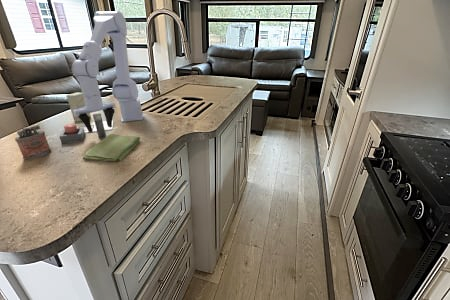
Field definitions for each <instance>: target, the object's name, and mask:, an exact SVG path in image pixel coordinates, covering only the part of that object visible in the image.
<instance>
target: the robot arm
mask: <svg viewBox="0 0 450 300" xmlns="http://www.w3.org/2000/svg"><path fill="white" fill-rule="evenodd" d="M93 23H94V27H93V30H92V35H91V37H90V41H86V42H84V43H83V47H82V50H81V51H80V54H79V56H78V59H76V60H74V61H73V62H72V64H71V69H70V70H71V72H72V74H73V75H74V77H75V78H76V80H77V82H78V83H79V86H80V89H81V93H82V94H83V98H84V101H85V105H86V107H83V108H80V109H76V110H73V113H74V115H75V116H76V117H77V116H78V117H79V118H80V119H81V121H82V122H83V123H84V124H85V126H86V127H87V129H88V131H89V132H90V134H92V133H94V132H93V131H92V127H91V124H90V123H91V118H90V117H89V116H88V115H87V113H90V114H92V113H96V112H99V111H103V113H104V116H105V121H107V125H108V127H112V120H113V117H114V115H115V112H116V111H115V108H116V104H115V102H114V101H110V102H105V103H104V102H103V99H102V94H101V90H100V87H99V83H98V78H97V76H98V75H99V70H100V69H99V68H100V67H99V61H100V58H101V55H102V53H103V50H102V47H101V46H102V44H103V42H104V41H105V38H106V36H108V37H110V38H111V39H112V45H113V46H112V47H113V55H114V64H115V73H116V78H115V79H114V81H112V89H111V93H112V96H113V98H114V99H116V102H118V105H119V111H120V114H121V117H120V119H121V120H120V121H121V123H126V122H133V121H141V120H144V117H143V115H144V113H143V110H142V105H141V100H140V98H138V97H139V90H138V87H137V82H136V81H134V80H133V79H132V78H130V68H129V67H130V66H129V57H128V56H129V55H128V46H127V35H128V31H127V20H126V17H125V16H124V14H123V13H122V11H120V10H116V11H115V10H114V11H100V10H99V11H95V14H94V17H93ZM82 122H81V123H82ZM83 123H82V124H83Z"/></svg>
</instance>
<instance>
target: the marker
mask: <svg viewBox="0 0 450 300" xmlns="http://www.w3.org/2000/svg"><path fill="white" fill-rule="evenodd" d="M92 117H93V122H95V125H96V129H97V132H96V133H97V135H98V138H106V137H107V134H106V131H105V129H104V125H103V121H104V120H103V117H102V113H101V112H97V113H96V112H95V113H93V114H92Z"/></svg>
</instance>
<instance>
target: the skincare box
mask: <svg viewBox="0 0 450 300" xmlns="http://www.w3.org/2000/svg"><path fill="white" fill-rule="evenodd" d="M66 98H67V101H68V106H69V107H70V111H71V114H72V118H73V121H74V122H81V123H82V121H81V119H80V118H79V117H78V116H77V117H76V116H75V115H74V113H73V110H76V109H80V108H83V107H86V105H85V101H84V98H83V94H82V92H77V91H76V92H73V93H70V94H66ZM87 115H88V116H89V117H90V119H92V117H91V116H92V115H91V113H87Z"/></svg>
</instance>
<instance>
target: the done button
mask: <svg viewBox="0 0 450 300" xmlns="http://www.w3.org/2000/svg"><path fill="white" fill-rule="evenodd" d="M76 124H77V123H76ZM76 124H75V123H70V124H69V123H68V124H65V125H63V128H64V129H63V130H65V132H66V133H67V134H72V133H76V132H77V131H78V129H77V126H76Z"/></svg>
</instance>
